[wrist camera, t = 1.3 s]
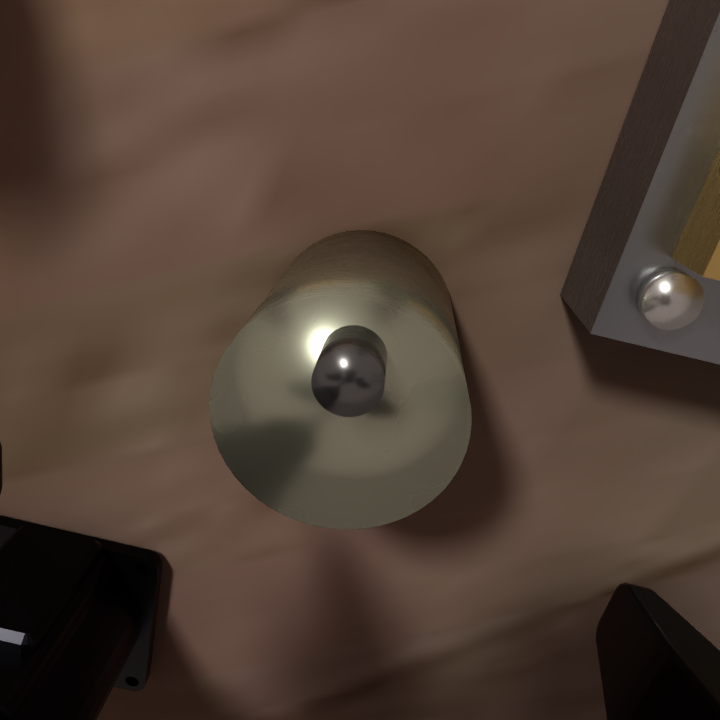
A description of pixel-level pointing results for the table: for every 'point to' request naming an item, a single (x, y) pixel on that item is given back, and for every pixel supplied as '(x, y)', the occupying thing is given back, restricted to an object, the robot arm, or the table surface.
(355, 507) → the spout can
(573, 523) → the table surface
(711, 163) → the grey gold-framed plate fixture
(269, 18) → the table surface
